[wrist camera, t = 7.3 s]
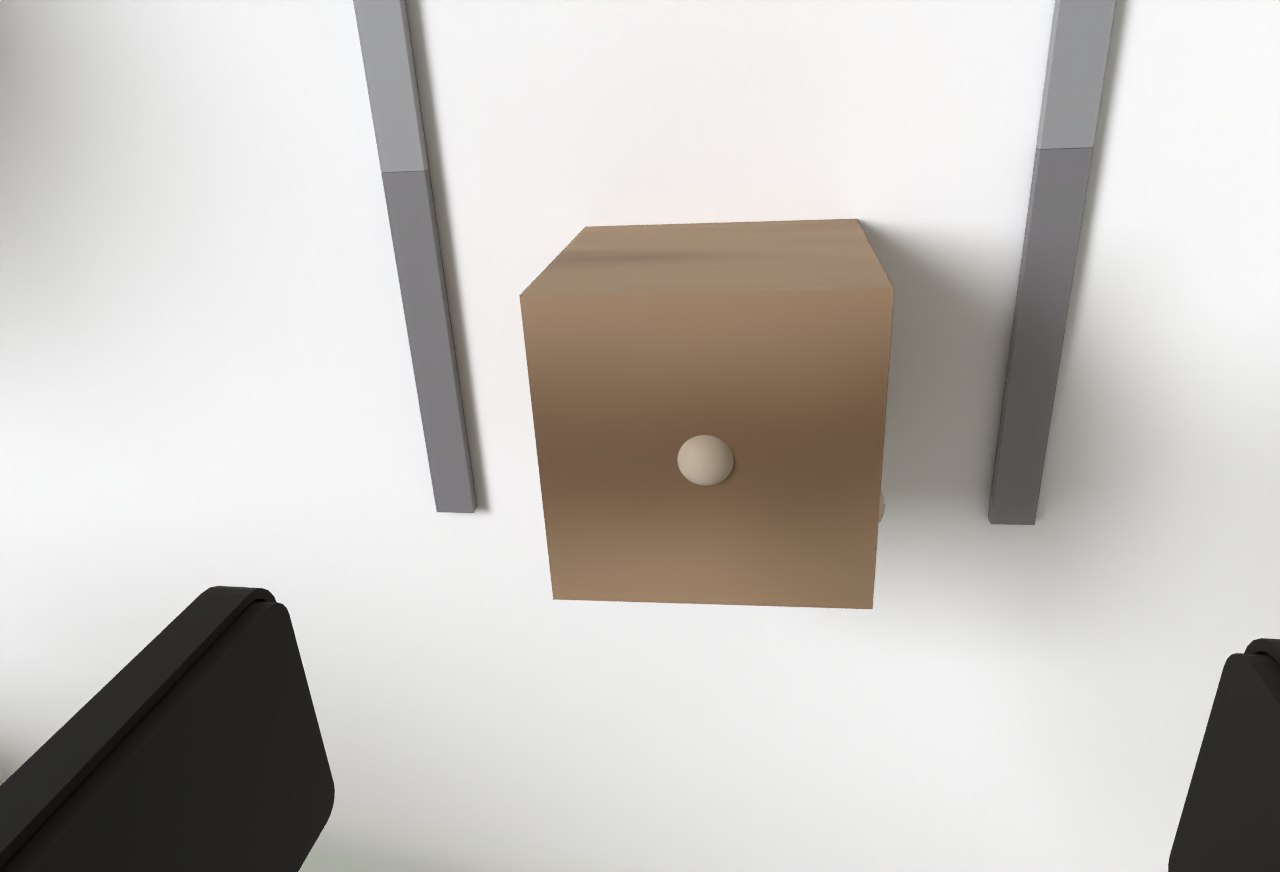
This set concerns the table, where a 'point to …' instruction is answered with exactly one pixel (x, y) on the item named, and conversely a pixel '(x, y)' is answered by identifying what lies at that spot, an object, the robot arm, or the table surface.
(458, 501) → the lane
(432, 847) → the table surface
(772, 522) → the die
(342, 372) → the table surface
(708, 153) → the table surface
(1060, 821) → the table surface
